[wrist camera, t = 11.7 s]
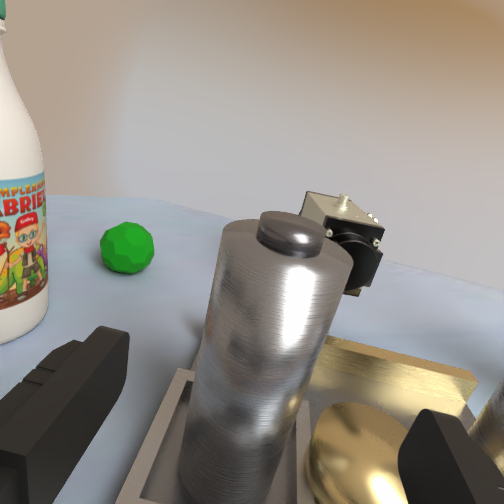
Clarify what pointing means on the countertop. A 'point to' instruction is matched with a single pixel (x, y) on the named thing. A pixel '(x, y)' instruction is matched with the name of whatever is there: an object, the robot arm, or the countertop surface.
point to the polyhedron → (127, 248)
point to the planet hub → (258, 352)
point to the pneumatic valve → (348, 234)
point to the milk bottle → (20, 213)
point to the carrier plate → (337, 394)
